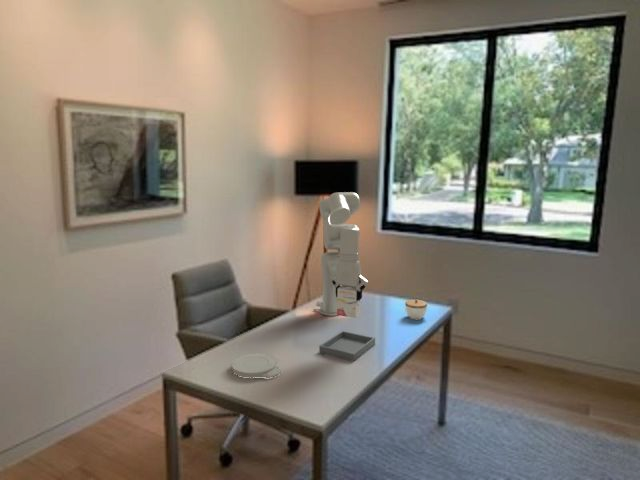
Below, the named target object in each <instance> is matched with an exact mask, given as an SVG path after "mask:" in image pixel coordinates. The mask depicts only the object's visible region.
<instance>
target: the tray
mask: <svg viewBox="0 0 640 480" xmlns="http://www.w3.org/2000/svg"><path fill="white" fill-rule="evenodd" d="M375 345H376V337H374V336H367V335H363V334H359V333H355V332H349V331H345V330H341V331H340V332H338V333H337V334H335V335H334V336H332V337H331V338H329V339H328V340H326V341H325V342H323V343H322V344H320V345H319V346H318V347H319V350H318V352H319V354H322V353H323V355H326V354H327V356H331V357H334V356H335V357H336V358H338V357H339V358H338V359H343V360H345V361H349V362H350V361H351V362H355V361H356V360H358V359H359V358H361V357H362V356H363V355H364V354H365V353H367V352H368V351H369V350H370V349H372V348H373V347H374V346H375Z"/></svg>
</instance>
